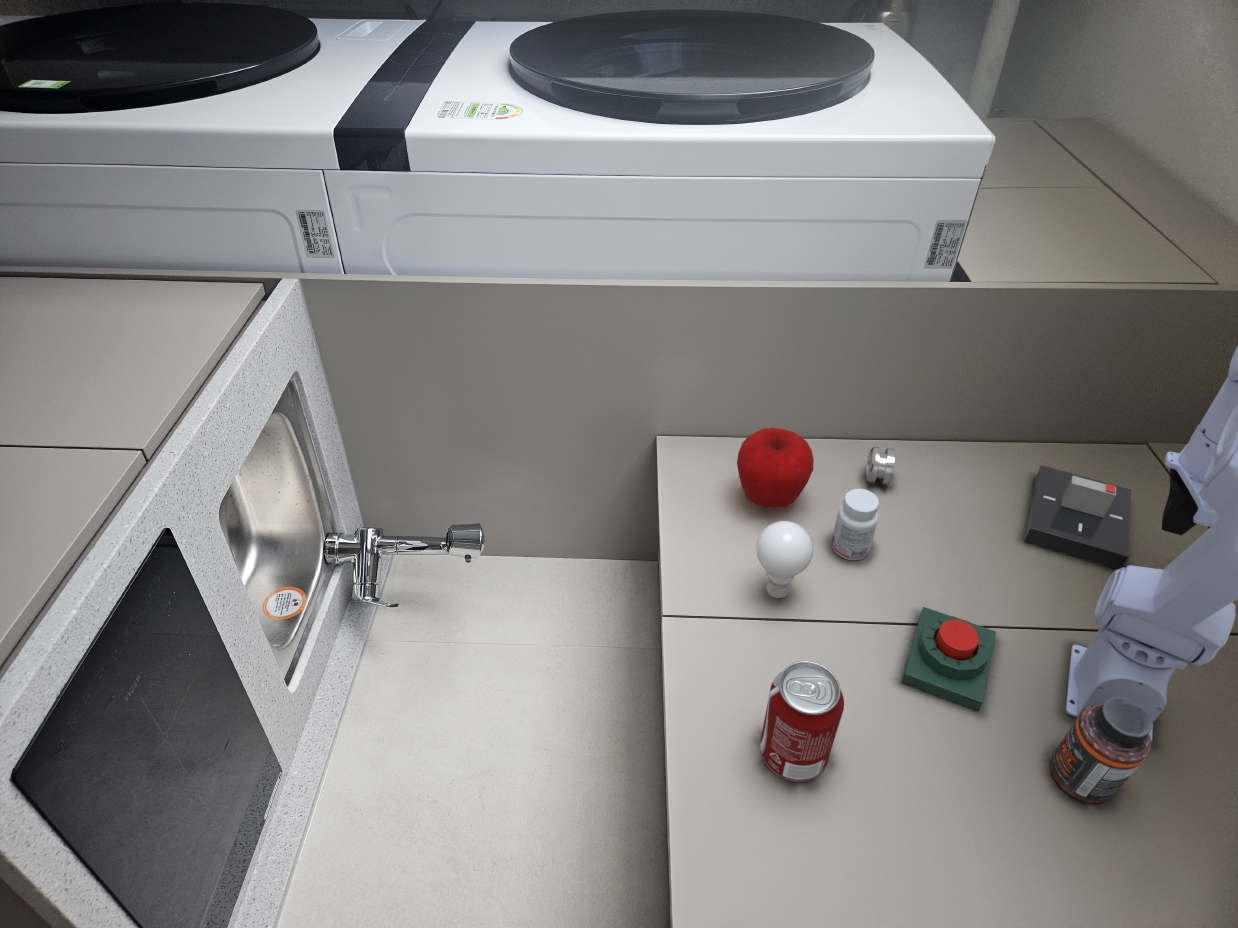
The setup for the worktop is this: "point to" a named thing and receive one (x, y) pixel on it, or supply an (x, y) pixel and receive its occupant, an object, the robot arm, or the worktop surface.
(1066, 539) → the block
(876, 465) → the grooved metal pulley
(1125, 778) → the supplement bottle
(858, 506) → the pill bottle
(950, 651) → the button
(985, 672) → the button block
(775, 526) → the lightbulb
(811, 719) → the soda can
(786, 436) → the apple
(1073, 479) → the knob
